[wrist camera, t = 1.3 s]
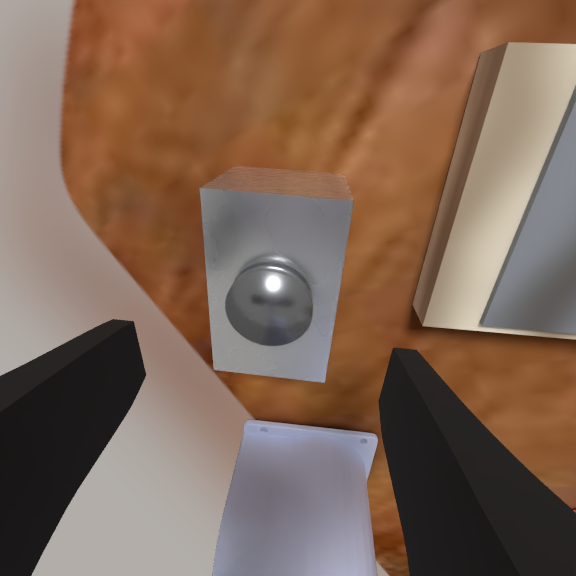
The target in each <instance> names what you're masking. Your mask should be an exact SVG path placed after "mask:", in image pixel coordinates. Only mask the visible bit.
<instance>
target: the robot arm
mask: <svg viewBox="0 0 576 576" xmlns="http://www.w3.org/2000/svg"><path fill="white" fill-rule="evenodd" d="M145 376H146V372H145V368H144V364H143V359H142V355H141V351H140V346H139V342H138V338H137V333H136V329H135V325H134V322H133V321H125V320H114V319H113V320H110V321H108V322H106V323H103V324H101V325H99V326H97V327H95V328H93V329H92V330H89V331H87V332H86V333H83V334H82V335H80V336H78V337H76V338H74V339H72V340H70V341H68V342H66V343H65V344H63V345H61V346H59V347H57V348H55V349H53V350H51V351H49V352H47V353H45V354H43V355H42V356H39V357H37V358H36V359H34V360H32V361H30V362H28V363H26V364H24V365H22V366H20V367H18V368H16V369H14V370H12V371H10V372H8V373H6V374H4V375H1V376H0V576H31V575H32V573H33V571H34V569H35V567H36V565H37V563H38V561H39V559H40V557H41V555H42V553H43V551H44V549H45V547H46V546H47V544H48V542H49V540H50V538H51V536H52V534H53V532H54V531H55V529H56V527H57V525H58V523H59V521H60V519H61V517H62V516H63V514H64V512H65V510H66V508H67V507H68V505H69V503H70V502H71V500H72V498H73V497H74V495H75V493H76V492H77V490H78V488H79V487H80V485H81V484H82V482H83V481H84V479H85V478H86V476H87V475H88V473H89V471H90V470H91V468H92V467H93V465H94V464H95V462H96V461H97V459H98V458H99V456H100V455H101V453H102V451H103V450H104V448H105V447H106V445H107V444H108V442H109V441H110V439H111V438H112V436H113V435H114V433H115V432H116V430H117V428H118V427H119V425H120V424H121V422H122V421H123V419H124V417H125V416H126V414H127V413H128V411H129V409H130V408H131V406H132V404H133V402H134V400H135V398H136V396H137V394H138V392H139V390H140V387H141V385H142V383H143V381H144V379H145ZM379 411H380V422H381V431H382V439H383V444H384V448H385V453H386V458H387V462H388V467H389V472H390V476H391V481H392V485H393V490H394V494H395V499H396V503H397V508H398V512H399V517H400V521H401V526H402V530H403V535H404V541H405V546H406V552H407V557H408V565H409V572H410V576H576V512H574V511H573V510H572V509H571V508H570V507H569V506H568V505H567V504H565V503H564V502H563V501H562V500H561V499H560V498H559V497H558V496H557V495H555V494H554V493H553V492H552V491H551V490H550V489H549V488H548V487H547V486H545V485H544V484H543V483H542V482H541V481H540V480H539V479H538V478H537V477H536V476H534V475H533V474H532V473H531V472H530V471H529V470H528V469H527V468H526V467H525V466H524V465H523V464H522V463H521V462H520V461H519V460H518V459H517V458H516V457H515V456H514V455H513V454H512V453H511V452H510V451H509V450H508V449H507V448H506V447H505V446H504V445H503V444H502V443H501V442H500V441H499V440H498V439H497V438H496V437H495V436H494V435H493V434H492V433H491V432H490V431H489V430H488V429H487V428H486V427H485V426H484V425H483V424H482V423H481V422H480V421H479V420H478V419H477V418H476V417H475V415H474V414H473V413H472V412H471V411H470V410H469V409H468V408H467V407H466V406H465V405H464V403H463V402H462V401H461V400H460V399H459V398H458V397H457V396H456V395H455V393H454V392H453V391H452V390H451V389H450V388H449V387H448V385H447V384H446V383H445V382H444V381H443V380H442V379H441V377H440V376H439V375H438V374H437V373H436V372H435V371H434V369H433V368H432V367H431V366H430V365H429V364H428V362H427V361H426V360H425V359H424V358H423V357H422V356H421V354H420V353H419V352H418V351H417V350H412V349H402V348H393V350H392V354H391V357H390V361H389V365H388V368H387V372H386V376H385V379H384V383H383V387H382V391H381V394H380V398H379ZM243 432H244V433H243V437H242V441H241V445H240V449H239V453H238V457H237V461H236V465H235V469H234V473H233V477H232V481H231V484H230V489H229V493H228V496H227V501H226V504H225V508H224V513H223V517H222V521H221V525H220V530H219V535H218V541H217V546H216V552H215V558H214V565H213V574H212V576H377V569H376V560H375V551H374V542H373V533H372V525H371V516H370V507H369V499H368V490H367V479H368V476H369V472H370V469H371V465H372V462H373V458H374V454H375V451H376V447H377V444H378V439H377V436H376V435H375V434H373V433H367V432H358V431H349V430H340V429H331V428H322V427H314V426H305V425H296V424H287V423H278V422H269V421H260V420H246V421H245V422H244V426H243Z"/></svg>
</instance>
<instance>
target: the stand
mask: <svg viewBox="0 0 576 576" xmlns="http://www.w3.org/2000/svg"><path fill="white" fill-rule="evenodd" d="M413 306H414V309H415V311H416V313H417V315H418V317H419V320H420V322H421V324H422V326H427V327H439V328H450V329H461V330H473V331H484V332H496V333H507V334H518V335H530V336H541V337H552V338H564V339H575V340H576V44H548V43H512V42H508V43H505V44H503V45H500V46H497V47H495V48H492V49H489V50H487V51H484V52H481V55H480V58H479V62H478V66H477V69H476V73H475V77H474V80H473V84H472V88H471V91H470V95H469V99H468V102H467V106H466V110H465V113H464V117H463V121H462V124H461V128H460V132H459V135H458V139H457V143H456V146H455V150H454V154H453V157H452V161H451V165H450V168H449V172H448V176H447V179H446V183H445V187H444V190H443V194H442V198H441V201H440V205H439V209H438V212H437V216H436V220H435V223H434V227H433V231H432V234H431V238H430V242H429V245H428V249H427V253H426V256H425V260H424V264H423V267H422V271H421V275H420V278H419V282H418V286H417V289H416V293H415V297H414V300H413Z"/></svg>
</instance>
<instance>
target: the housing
mask: <svg viewBox="0 0 576 576" xmlns="http://www.w3.org/2000/svg"><path fill="white" fill-rule="evenodd" d="M200 196H201V210H202V223H203V236H204V249H205V262H206V275H207V288H208V301H209V314H210V327H211V341H212V354H213V367H214V370H220V371H228V372H237V373H245V374H254V375H263V376H271V377H280V378H288V379H297V380H306V381H314V382H323V383H325V378H326V372H327V365H328V359H329V353H330V347H331V340H332V334H333V328H334V322H335V315H336V309H337V303H338V296H339V290H340V284H341V278H342V271H343V265H344V259H345V253H346V246H347V240H348V234H349V227H350V221H351V215H352V209H353V202H354V200H353V197H352V194H351V191H350V188H349V185H348V182H347V179H346V176H345V174H335V173H323V172H310V171H297V170H284V169H272V168H259V167H246V166H235V167H233V168H231V169H230V170H228V171H226V172H225V173H223V174H222V175H220V176H218V177H217V178H215V179H213V180H212V181H210V182H209V183H207V184H205V185H204V186H202V187H200Z"/></svg>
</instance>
